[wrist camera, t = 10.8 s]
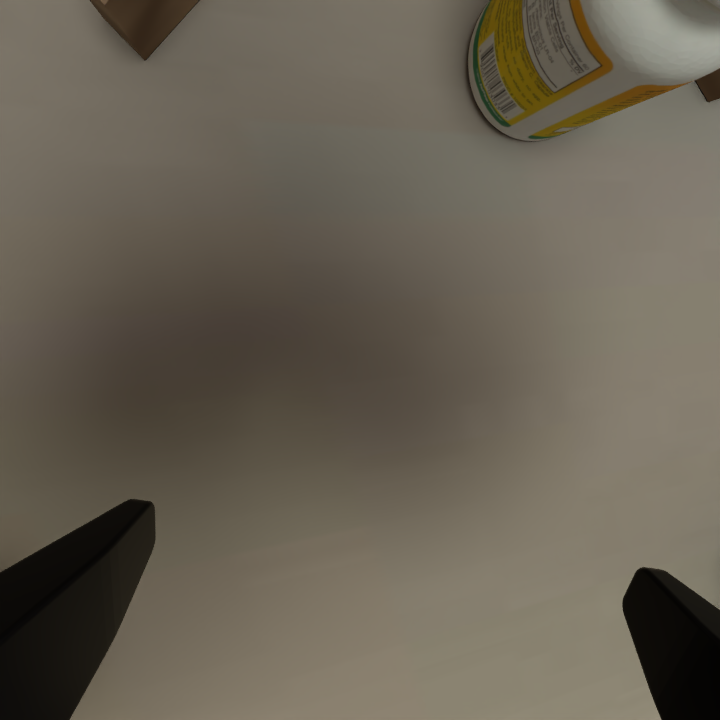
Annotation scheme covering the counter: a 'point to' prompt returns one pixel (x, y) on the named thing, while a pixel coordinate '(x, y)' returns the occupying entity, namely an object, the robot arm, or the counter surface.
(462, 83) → the counter surface
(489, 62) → the supplement bottle
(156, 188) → the counter surface
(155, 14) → the walnut corner walls
